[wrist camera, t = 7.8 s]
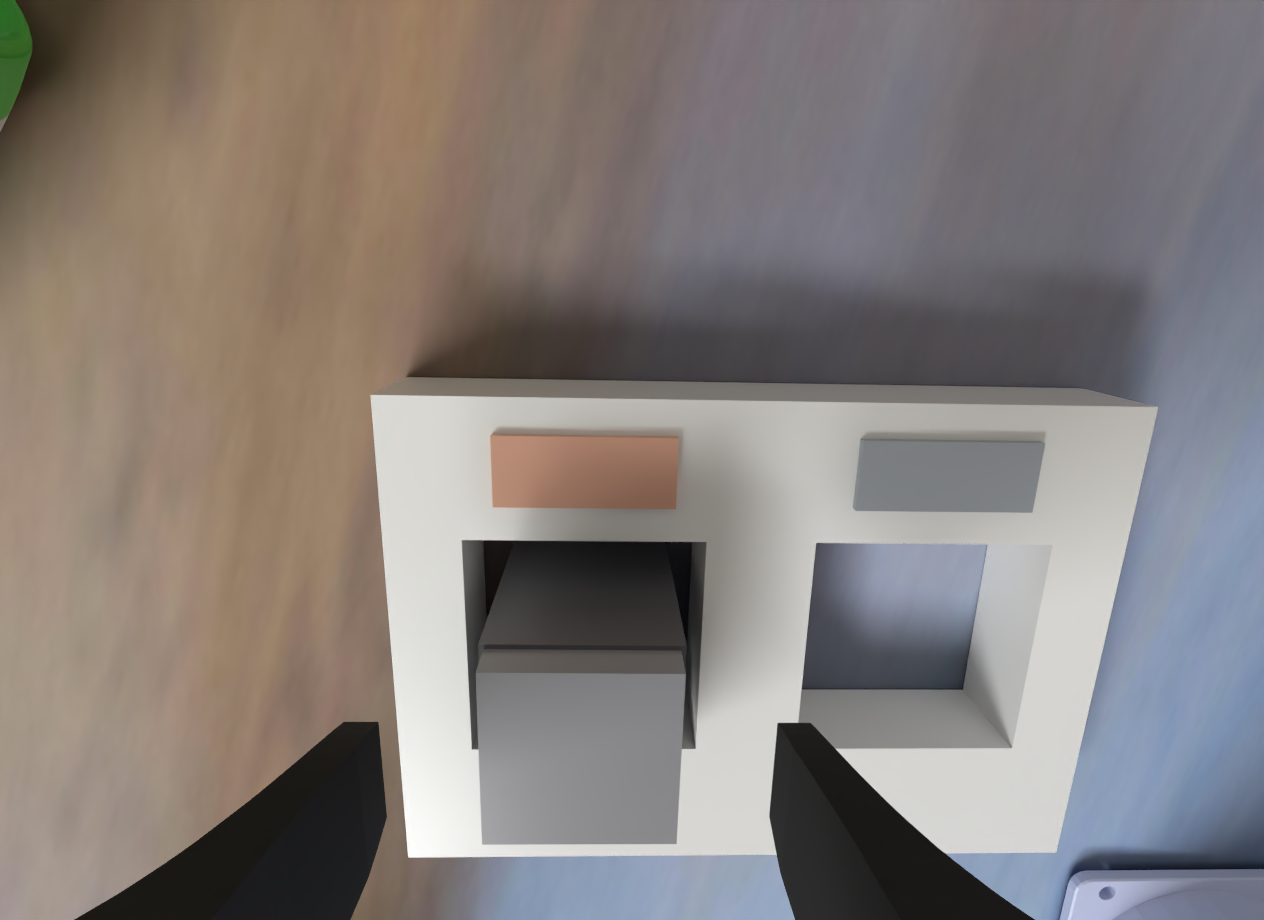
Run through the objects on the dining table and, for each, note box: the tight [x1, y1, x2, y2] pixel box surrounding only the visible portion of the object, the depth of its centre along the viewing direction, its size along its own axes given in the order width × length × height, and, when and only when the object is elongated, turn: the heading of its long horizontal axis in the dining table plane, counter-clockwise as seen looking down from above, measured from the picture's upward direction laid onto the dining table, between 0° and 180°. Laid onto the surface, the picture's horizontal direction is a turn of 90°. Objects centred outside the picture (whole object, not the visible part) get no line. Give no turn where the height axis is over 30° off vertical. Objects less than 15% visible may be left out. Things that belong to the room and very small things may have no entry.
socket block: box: [371, 377, 1158, 857], centre depth 17 cm, size 17×12×3 cm
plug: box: [476, 541, 687, 845], centre depth 16 cm, size 4×4×6 cm
